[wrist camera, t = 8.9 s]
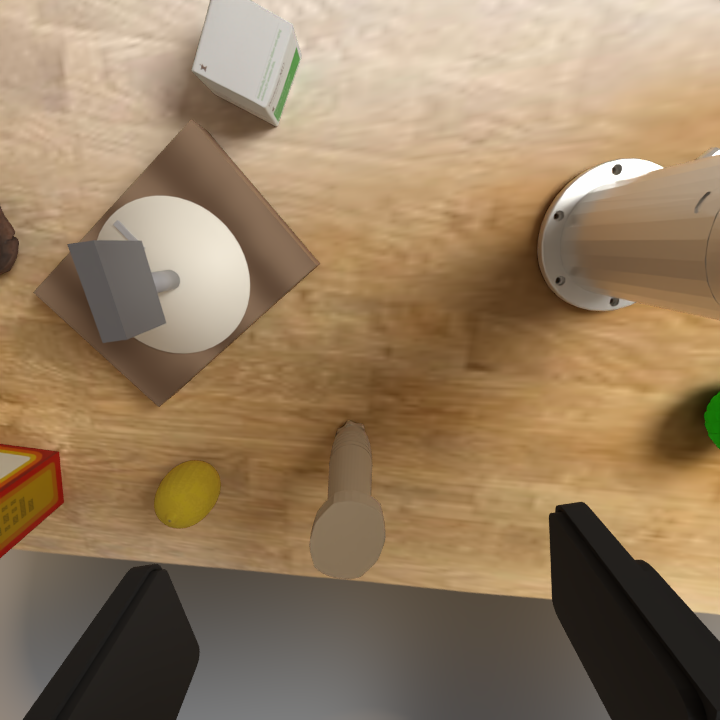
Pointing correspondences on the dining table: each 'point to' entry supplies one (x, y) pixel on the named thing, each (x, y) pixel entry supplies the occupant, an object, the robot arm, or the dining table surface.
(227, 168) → the board
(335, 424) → the dining table surface
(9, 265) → the broken clay pot
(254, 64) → the small box
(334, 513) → the handle
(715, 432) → the ornament
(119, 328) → the grey block with rod
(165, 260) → the dial
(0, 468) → the baking soda box
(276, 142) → the dining table surface
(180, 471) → the lemon
